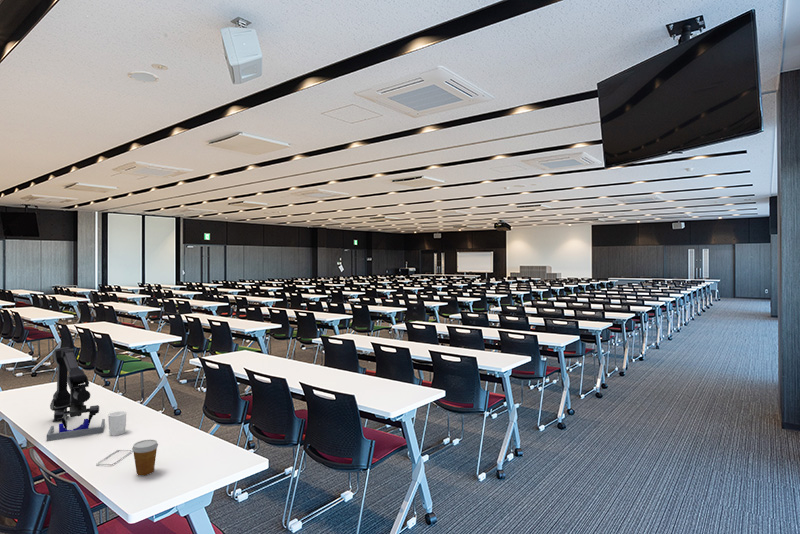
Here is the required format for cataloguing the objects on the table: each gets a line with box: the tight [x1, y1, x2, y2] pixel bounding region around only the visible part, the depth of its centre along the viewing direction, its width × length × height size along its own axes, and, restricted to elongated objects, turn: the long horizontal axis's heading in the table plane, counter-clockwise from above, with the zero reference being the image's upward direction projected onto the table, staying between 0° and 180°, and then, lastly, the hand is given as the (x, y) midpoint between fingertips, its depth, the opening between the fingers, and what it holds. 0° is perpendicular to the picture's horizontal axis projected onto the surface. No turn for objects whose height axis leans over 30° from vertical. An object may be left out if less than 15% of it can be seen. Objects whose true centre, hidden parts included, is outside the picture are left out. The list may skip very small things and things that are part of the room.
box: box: [46, 418, 106, 442], centre depth 239 cm, size 14×23×3 cm, turn 119°
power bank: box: [95, 449, 134, 467], centre depth 208 cm, size 7×1×15 cm
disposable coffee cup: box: [131, 439, 159, 476], centre depth 195 cm, size 10×10×12 cm
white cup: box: [107, 410, 127, 437], centre depth 238 cm, size 8×8×10 cm
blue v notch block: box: [58, 417, 90, 433], centre depth 238 cm, size 12×4×6 cm, turn 132°
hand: (77, 428), depth 241 cm, fingers open, 9 cm apart
